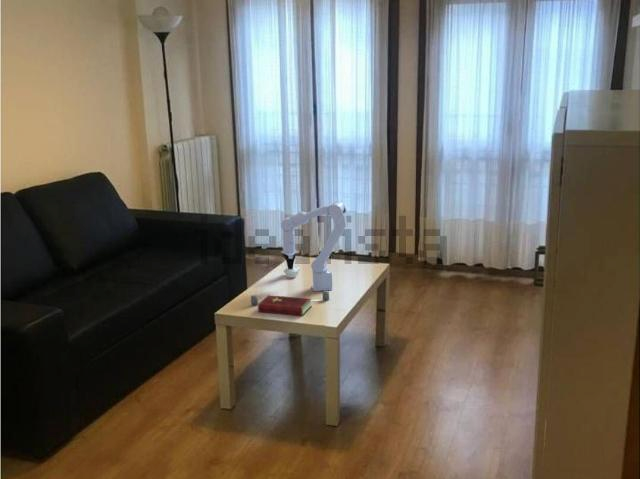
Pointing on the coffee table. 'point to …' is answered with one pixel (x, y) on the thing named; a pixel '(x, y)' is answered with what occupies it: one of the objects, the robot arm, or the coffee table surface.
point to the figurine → (292, 271)
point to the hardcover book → (284, 305)
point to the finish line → (325, 298)
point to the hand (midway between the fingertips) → (290, 268)
